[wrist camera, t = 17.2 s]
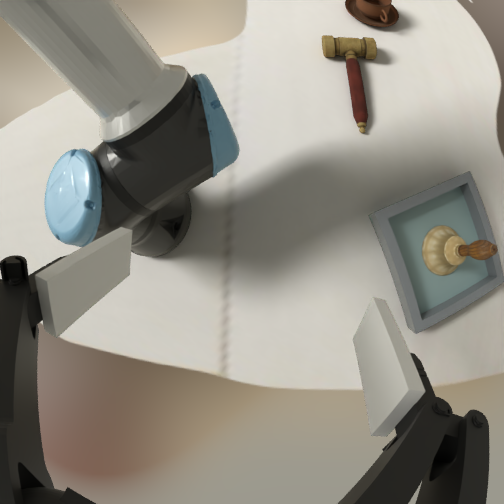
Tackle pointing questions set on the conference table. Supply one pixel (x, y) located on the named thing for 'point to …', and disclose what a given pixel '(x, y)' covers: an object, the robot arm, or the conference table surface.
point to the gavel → (353, 69)
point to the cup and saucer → (373, 12)
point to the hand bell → (451, 250)
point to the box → (410, 250)
